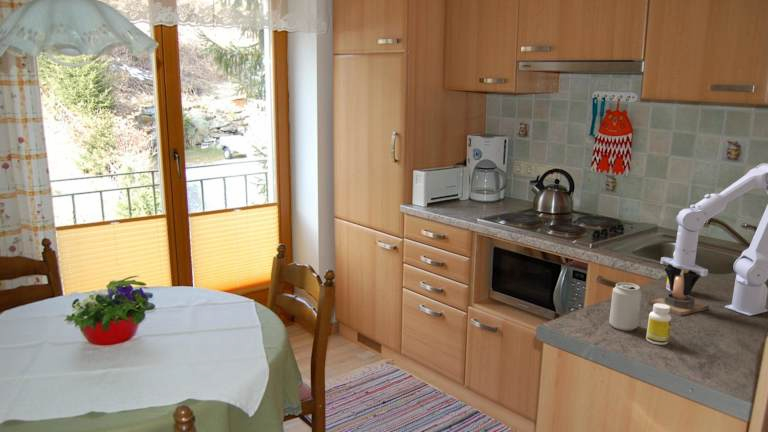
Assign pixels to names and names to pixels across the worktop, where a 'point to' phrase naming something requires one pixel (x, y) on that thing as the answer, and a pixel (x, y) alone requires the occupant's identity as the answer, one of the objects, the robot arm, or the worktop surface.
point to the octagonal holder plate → (680, 304)
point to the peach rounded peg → (678, 288)
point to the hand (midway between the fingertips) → (679, 292)
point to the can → (625, 306)
